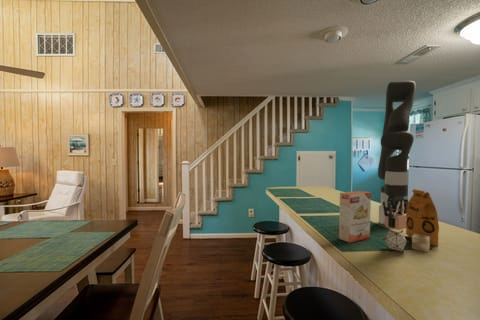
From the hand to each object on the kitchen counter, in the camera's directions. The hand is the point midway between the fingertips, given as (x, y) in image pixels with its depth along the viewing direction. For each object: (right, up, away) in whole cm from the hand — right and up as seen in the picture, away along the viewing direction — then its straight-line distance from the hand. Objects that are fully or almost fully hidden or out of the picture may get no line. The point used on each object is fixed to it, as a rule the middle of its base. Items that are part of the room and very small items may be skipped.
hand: (395, 226), depth 93 cm
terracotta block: (0, -1, 0) cm, 1 cm away
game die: (0, -10, 0) cm, 10 cm away
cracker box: (-10, -10, +13) cm, 19 cm away
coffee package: (+18, -10, +11) cm, 23 cm away
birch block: (+12, -10, +2) cm, 15 cm away
